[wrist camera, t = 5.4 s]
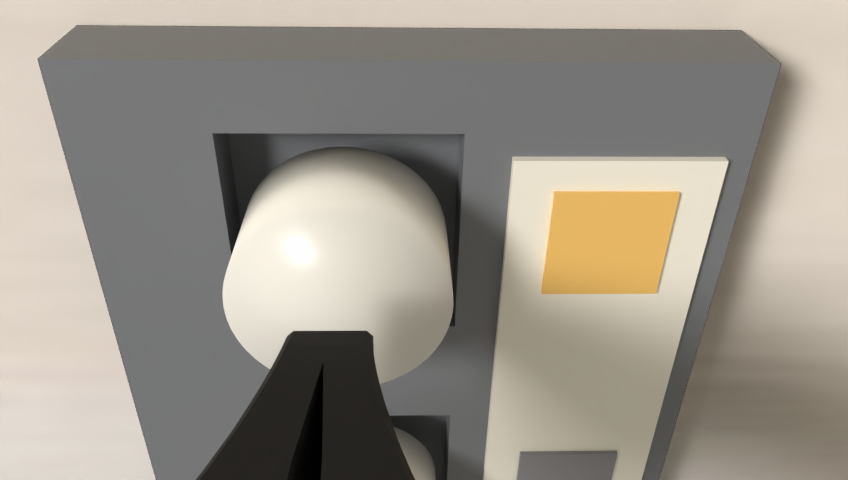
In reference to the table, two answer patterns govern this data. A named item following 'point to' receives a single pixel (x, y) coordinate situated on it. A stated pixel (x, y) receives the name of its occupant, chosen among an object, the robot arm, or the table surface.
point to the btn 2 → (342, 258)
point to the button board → (462, 206)
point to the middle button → (416, 456)
